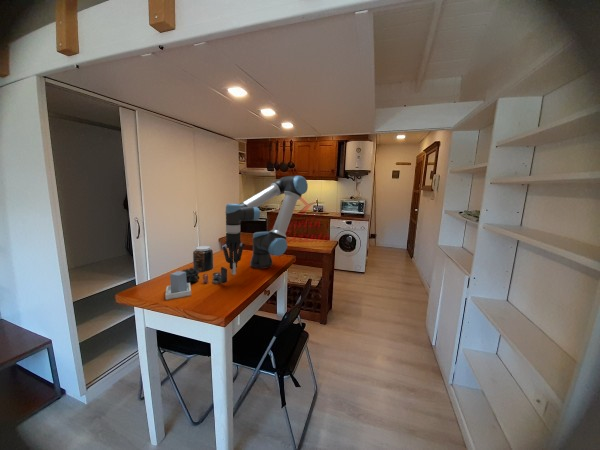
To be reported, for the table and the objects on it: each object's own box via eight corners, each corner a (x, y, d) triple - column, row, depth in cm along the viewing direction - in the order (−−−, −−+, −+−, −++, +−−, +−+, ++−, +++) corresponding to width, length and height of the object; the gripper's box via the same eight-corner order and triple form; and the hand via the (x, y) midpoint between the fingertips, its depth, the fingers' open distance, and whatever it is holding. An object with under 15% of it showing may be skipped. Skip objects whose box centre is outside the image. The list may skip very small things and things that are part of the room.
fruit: (167, 282, 121) (192, 283, 119) (169, 267, 123) (194, 267, 120) (178, 282, 130) (202, 282, 127) (180, 267, 131) (203, 268, 129)
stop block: (179, 289, 115) (178, 270, 113) (187, 290, 114) (186, 272, 112) (171, 293, 110) (170, 274, 109) (179, 295, 109) (178, 275, 107)
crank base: (220, 280, 129) (220, 272, 129) (222, 283, 125) (221, 275, 124) (203, 282, 125) (202, 274, 124) (204, 286, 120) (203, 277, 120)
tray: (190, 287, 119) (190, 282, 119) (191, 295, 110) (190, 290, 109) (166, 290, 114) (166, 286, 114) (165, 300, 105) (165, 295, 104)
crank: (211, 278, 125) (211, 264, 124) (218, 276, 128) (218, 262, 127) (222, 285, 117) (222, 269, 116) (229, 283, 120) (229, 268, 119)
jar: (208, 273, 139) (208, 250, 137) (190, 272, 140) (189, 249, 137) (216, 267, 151) (215, 245, 149) (199, 266, 151) (198, 245, 149)
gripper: (240, 230, 128) (240, 269, 131) (218, 232, 119) (219, 274, 122) (247, 232, 122) (247, 273, 126) (224, 234, 113) (225, 278, 117)
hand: (233, 273), depth 124 cm, fingers closed
